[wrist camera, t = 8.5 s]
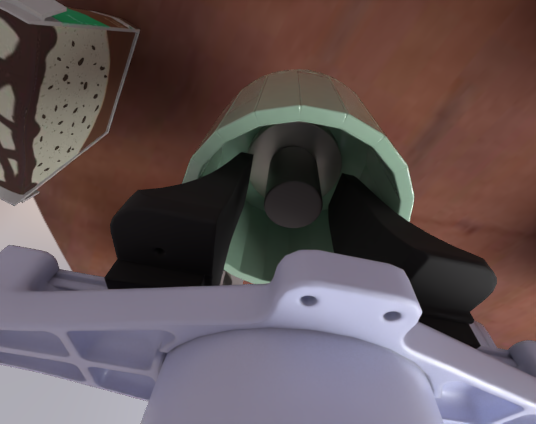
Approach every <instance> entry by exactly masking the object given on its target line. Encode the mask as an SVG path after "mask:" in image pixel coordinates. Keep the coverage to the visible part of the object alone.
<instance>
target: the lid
mask: <svg viewBox="0 0 536 424" xmlns="http://www.w3.org/2000/svg"><path fill="white" fill-rule="evenodd" d="M248 153H249V154H254V156H253V162H252V168H251V174H250V182H251V184H252V185H253V187H254V188H255V189H256V191H257V192H258V193H259V194H260V195H262V196H263V197H264V209H265V212H266V214H267V216H268V217H269V218H270V219H271V220H272V221H273V222H274V223H276V224H277V225H280V226H282V227H286V228H300V227H304V226H307V225H309V224H311V223H312V222H314V221H315V220H316V219H317V218H318V217H319V215H320V213H321V211H322V207H323V200H322V197H323V196H325V195H326V194H327V193H328V192H329V191H330V190H331V189H332V188H333V186H334V185H335V183H336V182H337V180H338V178H339V175H340V172H341V167H342V157H341V152H340V149H339V146H338V143H337V141H336V139H335V137H334V136H333V135H332V133H331V132H330V131H329V130H328V129H327V128H326V127H325V126H323V125H318V124H313V123H307V122H302V121H296V122H289V123H281V124H274V125H266V126H264V127H263V128H262V129H261V130H260V131H259V132H258V133H257V134H256V135H255V137H254V138H253V140H252V142H251V144H250V147H249V150H248Z"/></svg>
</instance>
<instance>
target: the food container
mask: <svg viewBox="0 0 536 424" xmlns="http://www.w3.org/2000/svg"><path fill="white" fill-rule="evenodd" d="M139 33H140V29H139V28H137V27H136V26H134V25H132V24H131V23H129V22H127V21H126V20H124V19H121V18H118V17H114V16H111V15H108V14H104V13H101V12H95V11H89V10H82V9H76V8H70V7H65V6H63V5H62V4H60V3H58V2H57V1H55V0H0V199H1V200H3V201H5V202H7V203H10V204H11V205H13V206H15V205H17V204H18V203H20V202H22V203H23V202H25V201H26V200H28V199H30V198H32V197H33V196H35V195H37V194H39V191H37V189H38V188H39V187H40V186H42V185H43V184H44V183H45V182H47V181H48V180H49V179H51V178H52V177H53V176H54V175H56V174H57V173H58V172H59V171H61V170H62V169H63V168H65V167H66V166H67V165H68V164H70V163H71V162H72V161H73V160H75V159H76V158H77V157H79V156H80V155H81V154H82V153H84V152H85V151H86V150H87V149H89V148H90V147H91V146H93V145H94V144H95V143H96V142H98V141H99V140H100V139H101V138H103V137H104V136H105V135H107V134H108V133H109V130H110V126H111V123H112V120H113V117H114V113H115V110H116V107H117V104H118V100H119V97H120V94H121V91H122V87H123V84H124V81H125V78H126V75H127V71H128V68H129V65H130V62H131V58H132V55H133V52H134V49H135V45H136V42H137V39H138V36H139Z"/></svg>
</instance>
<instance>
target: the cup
mask: <svg viewBox="0 0 536 424" xmlns="http://www.w3.org/2000/svg"><path fill="white" fill-rule="evenodd" d="M296 121H302V122H307V123H313V124H318V125H323V126H325V127H326V128H327V129H328V130H329V131H330V132H331V133H332V135H333V136H334V137H335V139H336V141H337V143H338V146H339V149H340V152H341V157H342V167H341V172H340V175H339V178H338V180H337V182H336V183H335V185H334V186H333V188H332V189H331V190H330V191H329V192H328V193H327V194H326V195H325V196H323V197H322V200H323V207H322V211H321V213H320V215H319V217H318V218H317V219H316V220H315V221H314V222H312V223H311V224H309V225H307V226H304V227H300V228H286V227H282V226H280V225H277V224H276V223H274V222H273V221H272V220H271V219H270V218H269V217H268V216H267V214H266V212H265V209H264V197H263V196H262V195H260V194H259V193H258V192H257V191H256V189H255V188H254V187H253V185H252V184H251V182H250V180H249V186H248V191H247V195H246V200H245V204H244V207H243V210H242V212H241V215H240V218H239V220H238V223H237V226H236V228H235V231H234V234H233V236H232V239H231V243H230V246H229V250H228V254H227V258H226V262H225V266H224V270H225V271H227V272H228V273H230V274H231V275H233V276H235V277H237V278H240V279H243V280H245V281H248V282H251V283H253V284H268V283H270V282H271V281H272V279H273V277H274V274H275V271H276V268H277V265H278V264H279V263H280V261H281V260H282V259H283V258H284V256H286V255H288V254H291V253H293V252H296V251H298V250H321V251H326V252H331V253H334V250H333V245H332V239H331V234H330V228H329V221H328V205H329V203H330V200H331V198H332V196H333V193H334V191H335V188H336V186H337V184H338V181H339V179H340V176H341V174H342V173H344V174H349V175H354V176H355V177H357V178H358V179H359V180H360V181H361V182H362V183H363V184H365V185H366V186H367V187H368V188H369V189H370V190H371V191H372V192H373V193H374V194H375V195H376V196H377V197H378V198H379V199H381V200H382V201H383V202H384V203H385V204H386V205H387V206H389V207H390V208H391V209H392V210H393V211H395V212H396V213H397V214H399V215H400V216H402V217H403V218H404V219H406V220H407V221H409V222H410V217H411V212H412V208H413V203H414V192H413V187H412V183H411V178H410V173H409V169H408V166H407V163H406V162H405V161H404V159H403V158H402V157H401V155H400V154H399V152H398V151H397V150H396V148H395V147H394V145H393V144H392V143H391V141H390V140H389V139H388V137H387V136H386V134H385V133H384V132H383V130H382V129H381V127H380V126H379V125H378V123H377V122H376V121H375V119H374V118H373V116H372V115H371V114H370V112H369V111H368V110H367V108H366V107H365V106H364V104H363V103H362V102H361V100H360V99H359V98H358V96H357V95H356V94H355V93H354V92H353V91H352V90H351V89H349V88H348V87H347V86H346V85H345V84H343V83H341V82H340V81H338V80H336V79H335V78H333V77H330V76H328V75H325V74H323V73H319V72H315V71H311V70H300V69H296V70H284V71H279V72H274V73H271V74H268V75H266V76H263V77H261V78H259V79H257V80H255V81H253V82H251V83H250V84H249V85H247V86H246V87H245V88H243V89H242V90H241V91H240V92H239V93H238V94H237V95H236V96H235V97H234V98H233V99H232V101H231V102H230V103H229V104H228V105H227V107H226V108H225V109H224V110H223V112H222V113H221V114H220V116H219V117H218V119H217V120H216V122H215V123H214V125H213V126H212V128H211V129H210V131H209V132H208V134H207V135H206V137H205V138H204V139H203V141H202V142H201V144H200V145H199V147H198V148H197V150H196V151H195V153H194V154H193V156H192V157H191V159H190V162H189V164H188V167H187V170H186V173H185V176H184V179H183V181H182V184H183V183H186V182H189V181H193V180H196V179H199V178H201V177H203V176H206V175H208V174H210V173H212V172H214V171H215V170H217V169H219V168H220V167H222V166H223V165H225V164H226V163H227V162H229V161H230V160H231V159H233V158H234V157H235V156H236V155H238V154H239V153H240V152H244V153H248V150H249V147H250V144H251V142H252V140H253V138H254V137H255V135H256V134H257V133H258V132H259V131H260V130H261V129H262V128H263V127H264V126H266V125H274V124H281V123H289V122H296Z"/></svg>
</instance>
